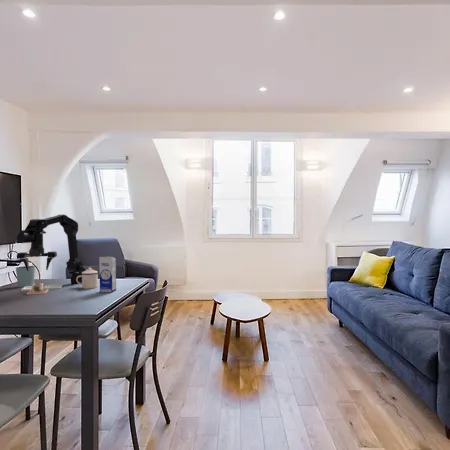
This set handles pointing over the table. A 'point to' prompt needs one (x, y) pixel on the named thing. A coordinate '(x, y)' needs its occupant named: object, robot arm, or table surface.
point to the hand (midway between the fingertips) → (37, 270)
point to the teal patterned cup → (25, 276)
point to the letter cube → (37, 287)
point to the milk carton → (107, 274)
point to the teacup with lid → (89, 279)
